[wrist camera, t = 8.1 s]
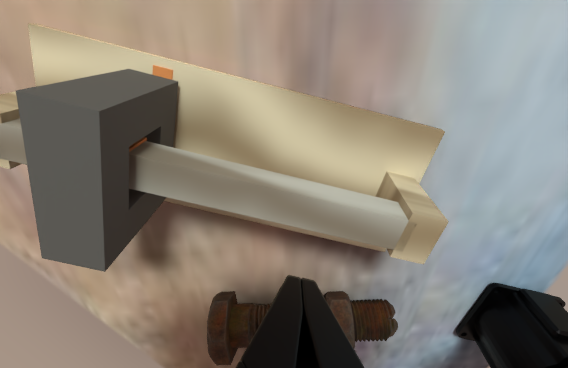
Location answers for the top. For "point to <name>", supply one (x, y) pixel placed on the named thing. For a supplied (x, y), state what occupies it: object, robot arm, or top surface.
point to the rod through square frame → (261, 151)
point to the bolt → (247, 317)
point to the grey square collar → (92, 160)
